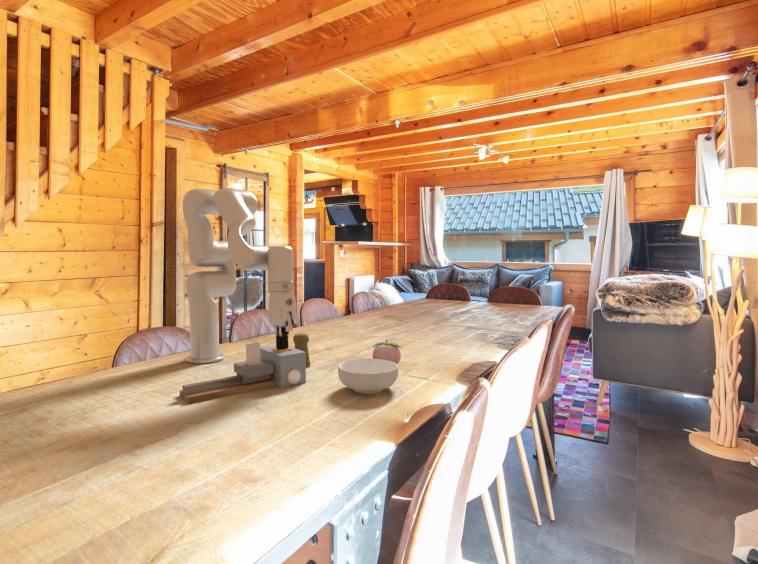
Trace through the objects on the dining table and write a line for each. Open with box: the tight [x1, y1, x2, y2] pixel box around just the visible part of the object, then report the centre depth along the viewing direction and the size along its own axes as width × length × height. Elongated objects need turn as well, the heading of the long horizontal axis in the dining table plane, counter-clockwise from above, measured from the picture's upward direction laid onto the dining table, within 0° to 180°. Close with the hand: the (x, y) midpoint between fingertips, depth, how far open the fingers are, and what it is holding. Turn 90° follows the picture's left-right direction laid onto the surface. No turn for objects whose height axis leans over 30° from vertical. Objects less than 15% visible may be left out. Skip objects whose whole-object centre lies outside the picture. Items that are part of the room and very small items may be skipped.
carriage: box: [233, 341, 274, 384], centre depth 123 cm, size 9×8×10 cm
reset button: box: [273, 348, 291, 353], centre depth 129 cm, size 4×4×4 cm
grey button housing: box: [260, 345, 307, 389], centre depth 129 cm, size 15×8×9 cm, turn 40°
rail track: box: [179, 374, 277, 405], centre depth 119 cm, size 8×24×4 cm, turn 130°
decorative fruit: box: [372, 339, 402, 365], centre depth 139 cm, size 9×8×10 cm
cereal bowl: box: [337, 358, 399, 395], centre depth 119 cm, size 17×17×7 cm
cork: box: [292, 332, 311, 369], centre depth 144 cm, size 6×6×11 cm
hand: (282, 348), depth 128 cm, fingers closed
